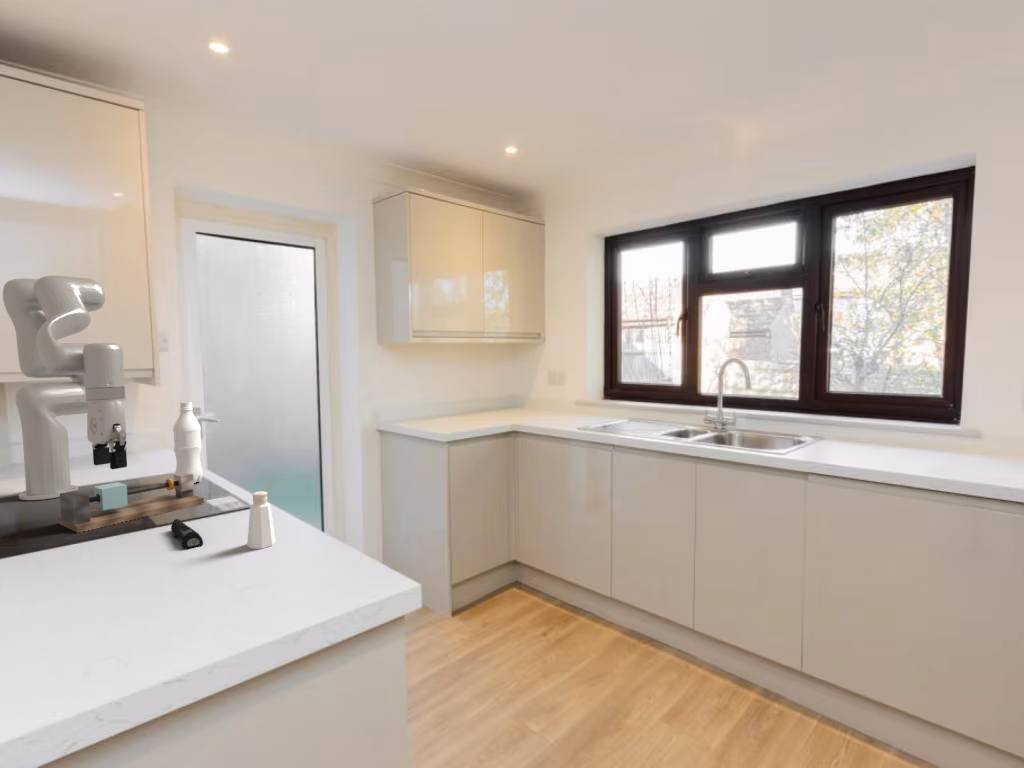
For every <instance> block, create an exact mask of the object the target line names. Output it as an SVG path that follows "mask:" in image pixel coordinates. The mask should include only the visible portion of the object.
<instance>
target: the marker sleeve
mask: <svg viewBox="0 0 1024 768" xmlns="http://www.w3.org/2000/svg"><path fill="white" fill-rule="evenodd" d="M127 490H128V484H125V483H122V482H117V481H116V482H112V483H111V482H110V483H107V484H106V483H105V484H100V485H95V486H93V497H95V496H100V501H95V502H93V503H94V508H96V509H101V510H107V509H112V508H117V507H122V506H126V505H128V503H129V502H128V495H127Z"/></svg>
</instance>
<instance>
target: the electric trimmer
mask: <svg viewBox="0 0 1024 768" xmlns="http://www.w3.org/2000/svg"><path fill="white" fill-rule="evenodd" d="M170 530H171V532H172V533H171V534H172V535H173V538H174V539H176V540H180V541H181V546H182V548H183V550H187V551H188V550H192V549H196V547H197V548H200V547H203V545H204V541H203V538H202V536H201V535H200V534H199V532H197V531H195V530H194V529H193V528H192V527H190V526H188V524H186V523H185V522H183V521H182V520H181V519H178V518H175V519H174V520H173V522H172V524H171V526H170Z"/></svg>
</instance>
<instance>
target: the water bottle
mask: <svg viewBox="0 0 1024 768" xmlns="http://www.w3.org/2000/svg"><path fill="white" fill-rule="evenodd" d="M179 404H180V407H179V412H180V413H179V416H178V417H177V419H176V421H175V424H174V426H173V428H172V429H173V430H172V432H173V444H174V447H173V451H174V453H175V458H176V468H175V473H174V474H179V473H185V472H187V473H191V474H193V480H194V483H195V484H196V482H199V483H201V481H202V479H203V476H204V475H203V474H204V472H203V468H202V464H201V453H202V449H203V447H202V446H203V445H202V435H201V434H202V433H201V430H202V427H201V424H200V423H199V420H198V419H197V418H196V416H195V415H194V412H193V410H194V408H193V401H180V403H179Z"/></svg>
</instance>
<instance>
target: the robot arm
mask: <svg viewBox="0 0 1024 768" xmlns="http://www.w3.org/2000/svg"><path fill="white" fill-rule="evenodd" d="M2 299H3V305H4V307H5V309H6V312H7V314H8V316H9V318H10V320H11V323H12V325H13V327H14V331H15V336H16V337H15V339H16V347H17V348H16V349H17V356H18V362H19V368H20V370H21V371H20V372H21V373H22V374H23V376H25V377H28V378H31V379H32V378H33V379H34V378H35V379H49V378H50V379H51V378H69V379H71V381H63V382H62V381H60V382H59V381H52V382H51V381H50V382H37V383H35V382H34V383H29V384H26V385H24V386H21V387H19V388H18V389H17V391H16V393H15V403H16V407H17V411H18V415H19V418H20V419H19V420H20V425H21V434H22V446H23V447H22V448H23V449H22V450H23V463H24V477H25V480H24V481H25V482H24V483H25V490H24V491H22V492H20V493H19V494H18V499H19V500H21V501H39V500H42V501H43V500H49V499H50V500H51V499H54V498H60V493H64V492H70V491H79V487H78V485H74V484H73V485H72V484H71V481H72V480H71V468H70V467H71V466H70V450H69V434H68V430H67V428H66V426H65V425H64V424H62V423H61V422H60V421H59V420H58V419H57V418H56V417H60V416H68V415H69V416H71V415H83V414H87V415H86V419H87V422H86V425H87V429H86V431H87V432H86V433H87V441H89V442H90V443H92V445H91V446H92V460H93V465H94V466H101V465H108V464H109V469H111V470H118V469H123V468H127V467H128V461H127V460H128V457H127V456H128V455H127V426H126V425H127V423H126V416H125V408H124V402H123V401H126V385H125V368H124V367H125V366H124V352H123V348H122V346H121V345H120V344H118V343H114V342H113V343H112V342H111V343H110V342H95V343H94V342H93V343H88V342H87V343H86V342H85V343H84V342H80V343H79V342H59V341H58V340H61V339H63V338H67V337H70V336H72V335H76V334H78V333H81V332H82V331H84V330H85V329H87V328H88V327H89V325H90V324H91V321H92V316H91V314H90V312H96V311H97V310H100V309H101V308H103V307H104V305H105V303H106V293H105V290H104V288H103V286H102V285H101V284H100V283H99V282H98V281H96V280H95V279H92V278H88V277H87V278H86V277H77V276H76V277H75V276H64V275H46V276H42V277H40V278H15V279H11V280H8V281H6V282H5V283H4V285H3V289H2ZM40 311H42V312H43V313H42V312H40Z"/></svg>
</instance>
